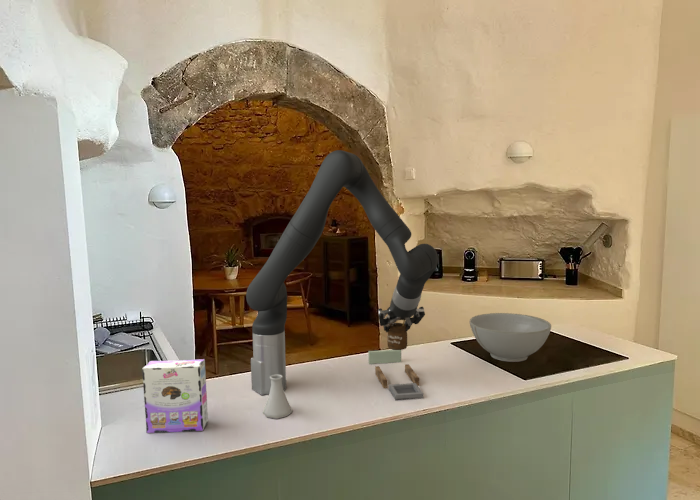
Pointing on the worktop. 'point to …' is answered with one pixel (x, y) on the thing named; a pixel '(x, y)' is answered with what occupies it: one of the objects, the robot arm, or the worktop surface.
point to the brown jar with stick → (397, 336)
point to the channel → (408, 371)
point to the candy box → (175, 396)
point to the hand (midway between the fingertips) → (395, 329)
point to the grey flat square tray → (405, 391)
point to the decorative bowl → (510, 334)
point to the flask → (277, 400)
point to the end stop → (384, 356)
